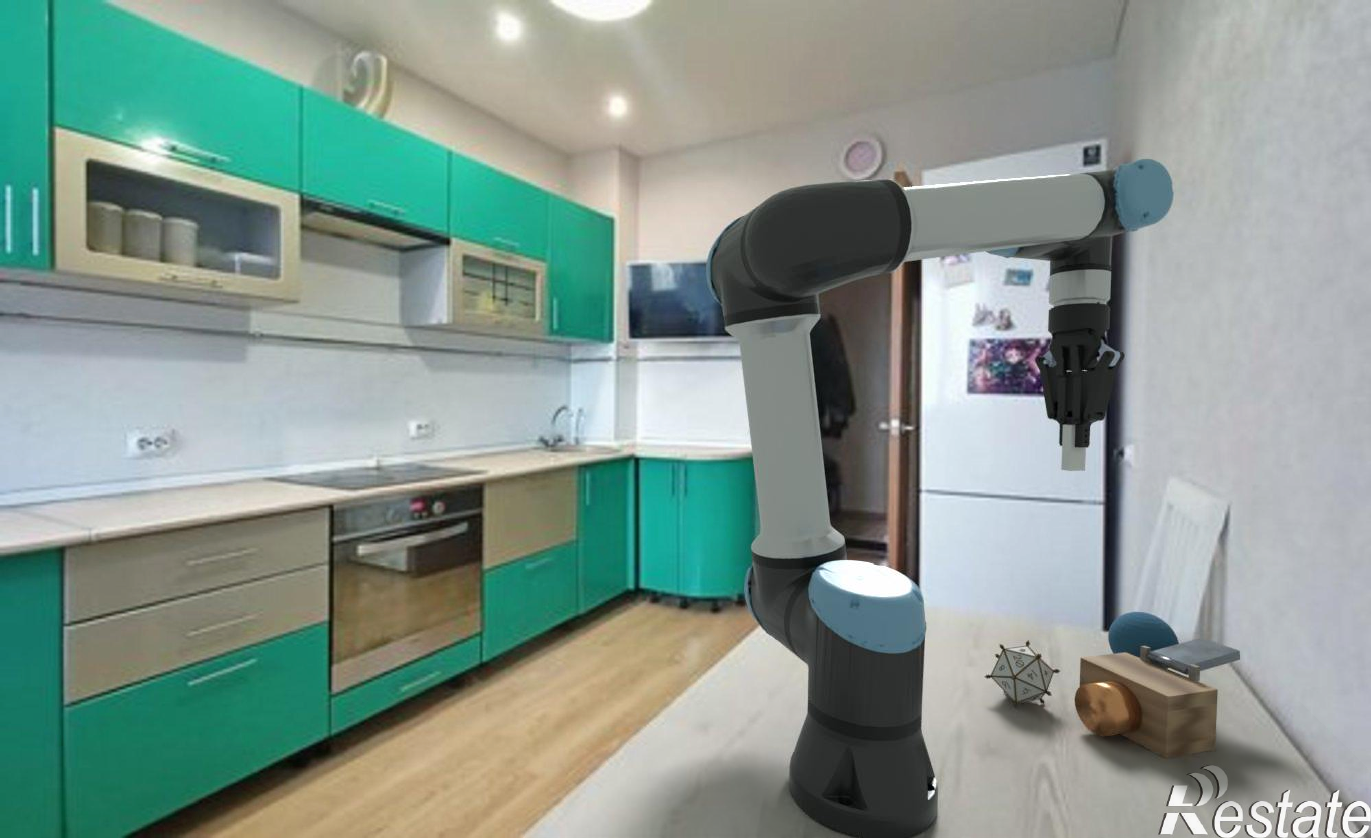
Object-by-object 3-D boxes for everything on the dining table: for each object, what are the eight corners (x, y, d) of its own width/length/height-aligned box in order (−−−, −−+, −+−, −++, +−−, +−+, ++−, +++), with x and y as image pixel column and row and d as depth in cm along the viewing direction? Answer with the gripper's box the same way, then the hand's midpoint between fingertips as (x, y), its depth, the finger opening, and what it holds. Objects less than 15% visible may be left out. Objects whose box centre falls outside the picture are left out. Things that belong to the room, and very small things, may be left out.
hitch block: (1165, 758, 77) (1168, 681, 77) (1078, 711, 88) (1081, 644, 88) (1217, 748, 79) (1220, 674, 79) (1126, 704, 91) (1128, 639, 90)
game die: (1035, 733, 90) (1076, 695, 84) (974, 705, 91) (1010, 666, 85) (1031, 680, 97) (1069, 641, 91) (975, 654, 98) (1008, 615, 92)
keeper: (1184, 675, 82) (1183, 666, 82) (1148, 660, 87) (1147, 652, 87) (1240, 659, 85) (1239, 650, 85) (1201, 646, 90) (1201, 637, 89)
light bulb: (1096, 680, 99) (1099, 602, 98) (1158, 686, 97) (1161, 606, 97) (1121, 705, 90) (1124, 620, 90) (1189, 712, 89) (1193, 625, 88)
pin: (1116, 745, 79) (1117, 696, 78) (1073, 721, 84) (1075, 676, 84) (1212, 729, 83) (1214, 682, 83) (1166, 707, 89) (1168, 664, 89)
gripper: (1142, 300, 87) (1136, 475, 88) (1061, 312, 100) (1056, 465, 100) (1099, 296, 85) (1092, 475, 86) (1021, 309, 98) (1016, 465, 98)
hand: (1073, 469), depth 93 cm, fingers closed
